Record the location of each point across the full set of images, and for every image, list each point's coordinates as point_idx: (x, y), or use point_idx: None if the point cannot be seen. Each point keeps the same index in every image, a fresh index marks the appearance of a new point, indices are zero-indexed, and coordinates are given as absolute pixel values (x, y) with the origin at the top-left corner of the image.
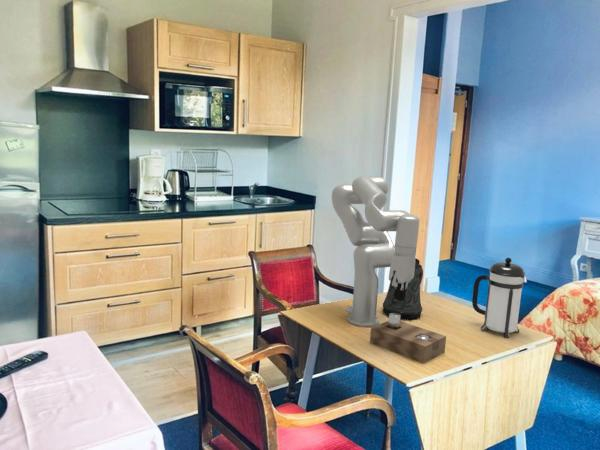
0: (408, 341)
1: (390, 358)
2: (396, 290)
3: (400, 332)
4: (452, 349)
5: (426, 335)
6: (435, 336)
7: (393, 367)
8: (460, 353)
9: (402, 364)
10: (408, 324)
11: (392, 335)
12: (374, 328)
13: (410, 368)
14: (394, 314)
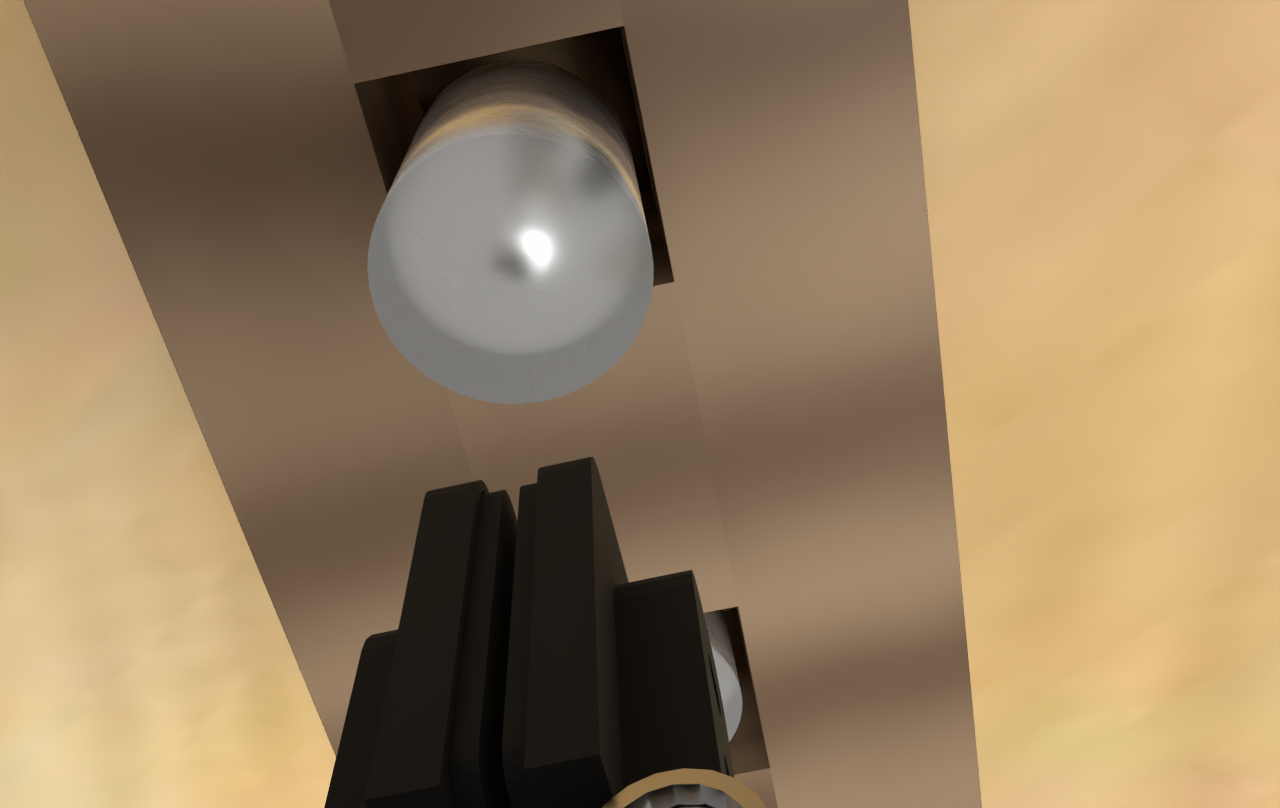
0: (323, 713)
1: (125, 501)
2: (400, 753)
3: (432, 451)
4: (1081, 636)
5: (741, 699)
6: (831, 769)
7: (9, 681)
8: (1050, 738)
9: (170, 670)
10: (890, 229)
11: (219, 463)
12: (53, 68)
13: (196, 766)
14: (522, 251)
